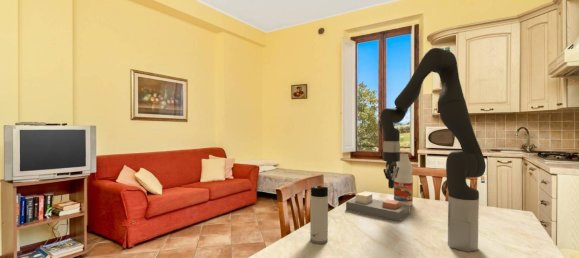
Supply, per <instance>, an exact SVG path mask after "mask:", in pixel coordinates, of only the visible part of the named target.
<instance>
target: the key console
mask: <svg viewBox="0 0 579 258" xmlns="http://www.w3.org/2000/svg"><path fill="white" fill-rule="evenodd" d="M383 201H384V200H380V199H375V198H372V202H370V203H368V204H365V203H360V202H356V197H355V198H352V199H350V200H347V201H346V202H345V210H346V211H350V212H354V213H359V214H363V215H367V216H371V217H375V218H376V217H377V218H382V219H386V220H390V221H395V222H400V221H401V220H403V219H404V218H406V217H407V216H409V215H410V213H411V212H410V207H411V206H408V205H402V204H400V207H399V208H397V209H391V208H386V207H382V205H383Z"/></svg>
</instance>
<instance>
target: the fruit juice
mask: <svg viewBox="0 0 579 258" xmlns="http://www.w3.org/2000/svg"><path fill="white" fill-rule="evenodd" d="M409 154H410V152H409V151H405V150H403V151H402V150H400V161H399V162H397V167H399V170H398V174H397V177H396V178H395V180H394V188H393V200H394V201H399V202H400V204H402V205H408V206H410V207H411V206H412V205H413V201H414V198H413V197H414V195H413V194H414V193H413V192H414V177H413V171H414V167H413V165H412V163H411V161H410V158H409Z"/></svg>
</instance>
